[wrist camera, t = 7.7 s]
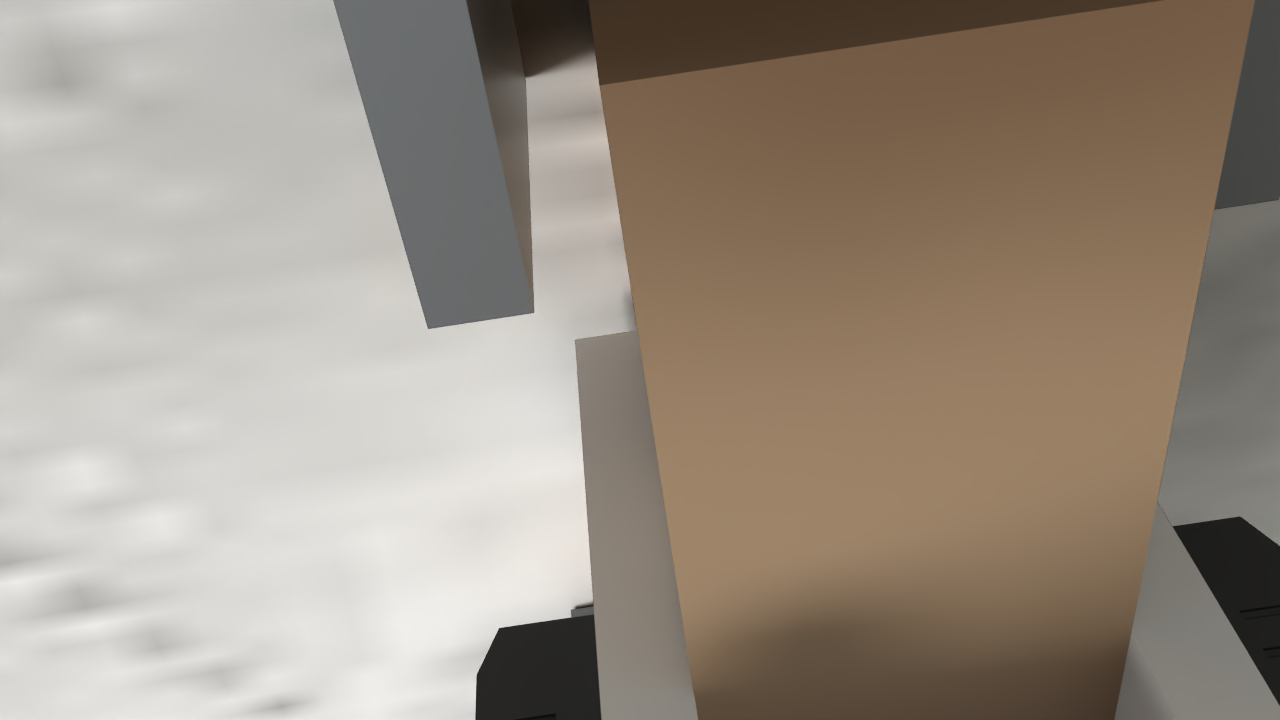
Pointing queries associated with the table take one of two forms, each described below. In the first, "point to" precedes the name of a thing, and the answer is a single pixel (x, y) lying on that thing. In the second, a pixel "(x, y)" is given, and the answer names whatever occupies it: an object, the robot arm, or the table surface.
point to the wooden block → (914, 332)
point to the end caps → (498, 143)
